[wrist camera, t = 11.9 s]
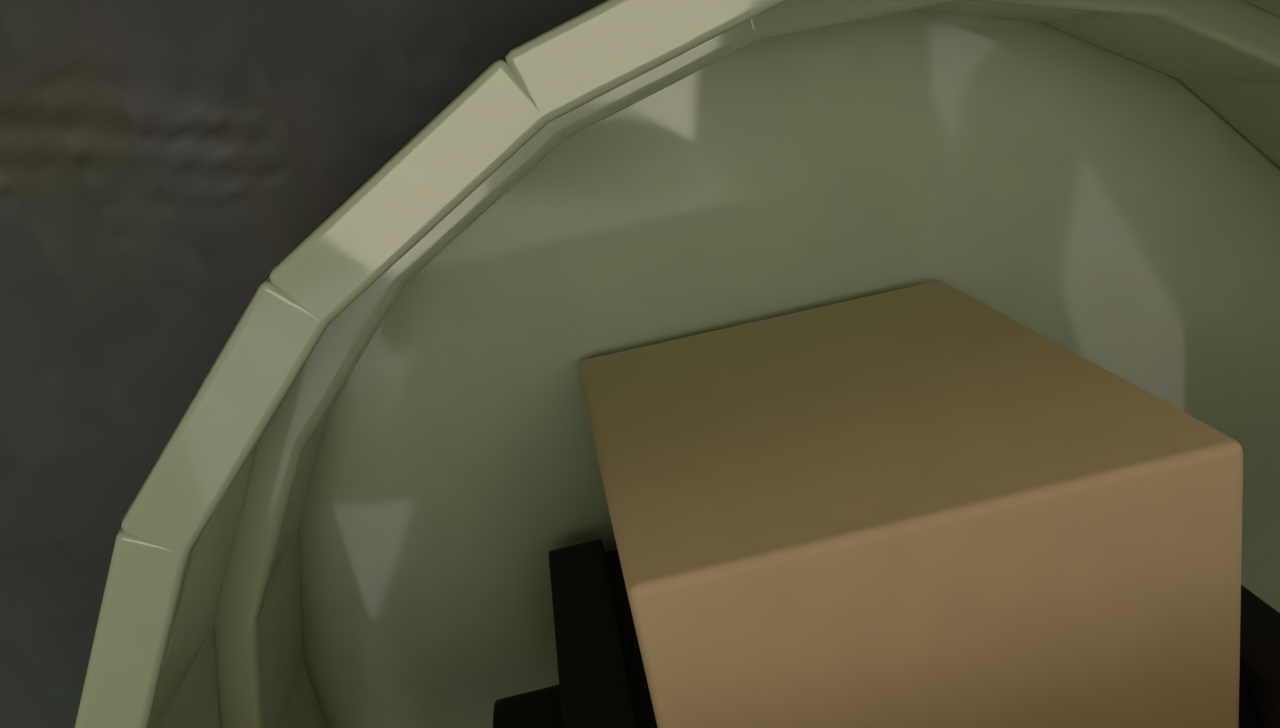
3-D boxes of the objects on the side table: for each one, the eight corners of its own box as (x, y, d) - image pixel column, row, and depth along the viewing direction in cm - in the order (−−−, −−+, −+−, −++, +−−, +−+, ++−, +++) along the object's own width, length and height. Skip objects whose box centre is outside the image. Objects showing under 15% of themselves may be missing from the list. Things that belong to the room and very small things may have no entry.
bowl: (1432, -188, 9) (2093, -355, 5) (1356, 859, 13) (1693, 1183, 9) (33, 89, 8) (-364, 126, 4) (426, 1110, 12) (391, 1571, 9)
